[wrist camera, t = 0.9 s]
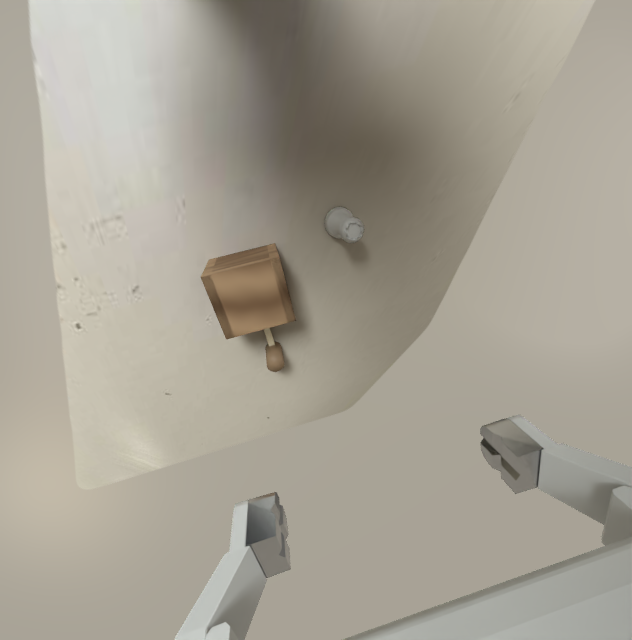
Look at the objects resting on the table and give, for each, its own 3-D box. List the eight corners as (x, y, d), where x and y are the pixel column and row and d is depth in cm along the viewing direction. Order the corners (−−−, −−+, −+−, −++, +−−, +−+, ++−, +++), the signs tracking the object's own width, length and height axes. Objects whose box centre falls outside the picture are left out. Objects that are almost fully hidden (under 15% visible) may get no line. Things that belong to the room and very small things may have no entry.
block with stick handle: (231, 272, 45) (229, 283, 40) (263, 264, 45) (265, 274, 41) (262, 358, 52) (263, 375, 48) (289, 350, 53) (292, 367, 48)
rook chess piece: (351, 236, 46) (369, 248, 39) (323, 237, 45) (336, 250, 38) (353, 206, 44) (372, 212, 37) (323, 206, 43) (338, 213, 36)
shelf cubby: (209, 259, 43) (200, 277, 36) (274, 243, 44) (279, 257, 37) (230, 314, 47) (226, 339, 40) (289, 298, 48) (296, 320, 41)
